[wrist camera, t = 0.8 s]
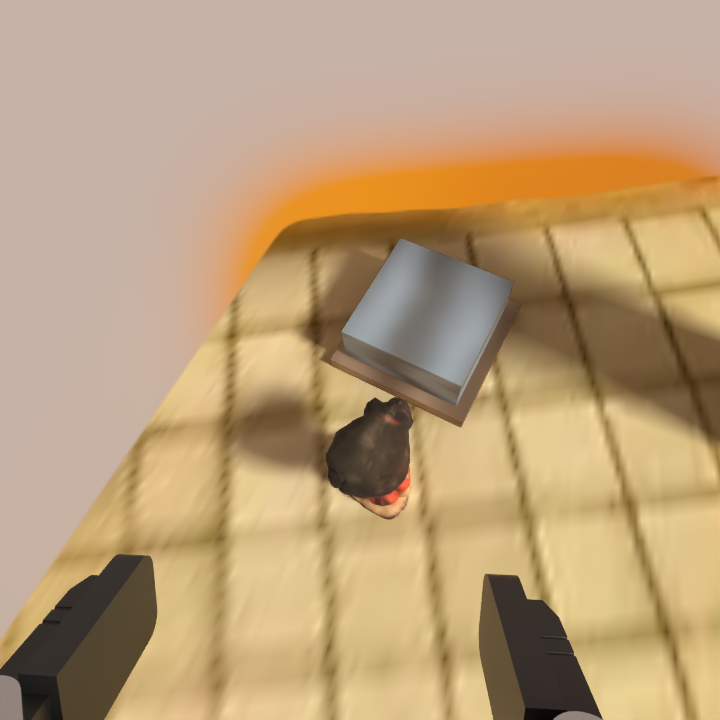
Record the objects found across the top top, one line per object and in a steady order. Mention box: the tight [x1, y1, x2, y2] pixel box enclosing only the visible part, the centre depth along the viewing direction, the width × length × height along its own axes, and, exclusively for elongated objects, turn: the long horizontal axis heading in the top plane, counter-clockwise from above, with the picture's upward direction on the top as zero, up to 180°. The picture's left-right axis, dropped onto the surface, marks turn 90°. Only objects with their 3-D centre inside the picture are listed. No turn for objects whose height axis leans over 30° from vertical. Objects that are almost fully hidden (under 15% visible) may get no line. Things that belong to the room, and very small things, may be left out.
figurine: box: [326, 397, 413, 519], centre depth 35 cm, size 6×6×12 cm
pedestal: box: [330, 238, 521, 427], centre depth 43 cm, size 12×12×5 cm
